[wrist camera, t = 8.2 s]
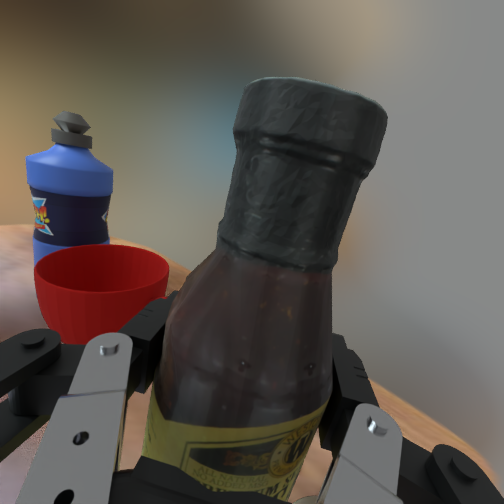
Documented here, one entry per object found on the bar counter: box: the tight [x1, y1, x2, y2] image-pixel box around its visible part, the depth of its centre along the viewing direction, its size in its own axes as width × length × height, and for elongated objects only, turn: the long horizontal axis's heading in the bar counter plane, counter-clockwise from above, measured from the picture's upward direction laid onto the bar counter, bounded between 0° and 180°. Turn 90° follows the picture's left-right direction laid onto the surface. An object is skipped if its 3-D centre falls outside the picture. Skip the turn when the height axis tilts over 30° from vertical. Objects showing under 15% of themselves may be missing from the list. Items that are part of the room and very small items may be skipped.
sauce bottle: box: [142, 77, 388, 502], centre depth 10 cm, size 6×6×20 cm
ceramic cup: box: [34, 244, 169, 345], centre depth 30 cm, size 13×17×10 cm
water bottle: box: [26, 111, 113, 295], centre depth 35 cm, size 9×9×25 cm
